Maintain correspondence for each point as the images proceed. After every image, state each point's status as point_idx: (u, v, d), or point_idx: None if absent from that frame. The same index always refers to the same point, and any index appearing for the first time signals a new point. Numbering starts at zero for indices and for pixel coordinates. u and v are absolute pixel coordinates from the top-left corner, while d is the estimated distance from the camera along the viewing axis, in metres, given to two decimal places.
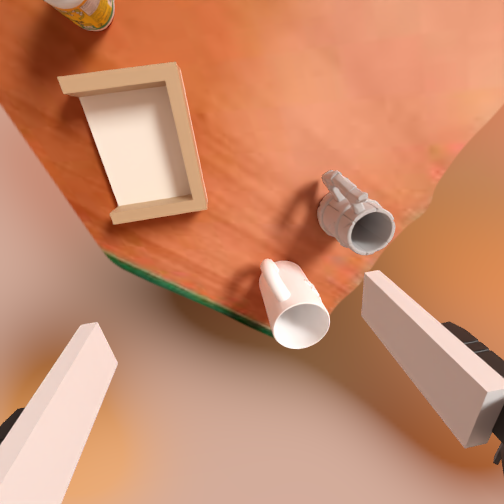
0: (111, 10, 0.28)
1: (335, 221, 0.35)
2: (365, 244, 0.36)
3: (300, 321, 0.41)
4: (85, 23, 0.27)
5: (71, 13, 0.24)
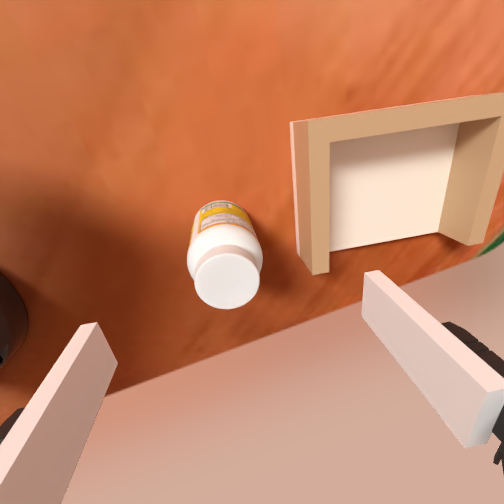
0: (233, 205, 0.22)
1: None
2: None
3: None
4: None
5: None
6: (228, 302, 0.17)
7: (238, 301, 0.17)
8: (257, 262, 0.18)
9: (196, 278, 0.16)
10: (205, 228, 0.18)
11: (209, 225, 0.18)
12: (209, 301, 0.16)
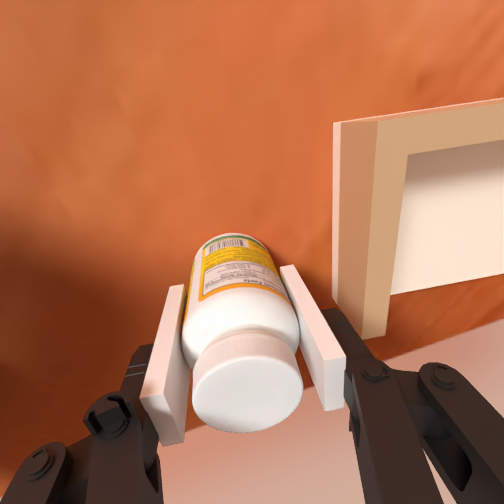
0: (250, 240, 0.16)
1: None
2: None
3: None
4: None
5: None
6: (249, 424, 0.10)
7: (265, 421, 0.10)
8: (293, 345, 0.11)
9: (195, 395, 0.09)
10: (211, 293, 0.11)
11: (218, 289, 0.11)
12: (217, 425, 0.10)
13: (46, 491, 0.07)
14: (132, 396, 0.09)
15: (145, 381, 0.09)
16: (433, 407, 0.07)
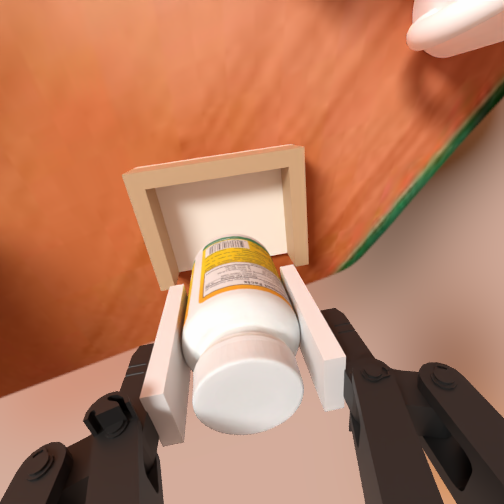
0: (250, 241, 0.16)
1: None
2: None
3: None
4: None
5: None
6: (249, 426, 0.10)
7: (266, 423, 0.10)
8: (293, 347, 0.11)
9: (195, 397, 0.09)
10: (211, 295, 0.11)
11: (218, 290, 0.11)
12: (217, 427, 0.10)
13: (46, 491, 0.07)
14: (132, 396, 0.09)
15: (145, 381, 0.09)
16: (433, 407, 0.07)
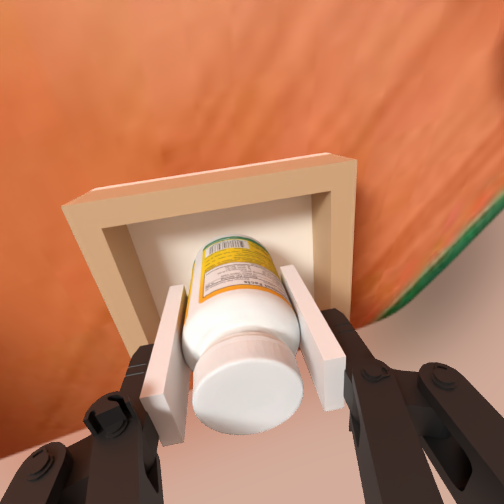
0: (250, 241, 0.16)
1: None
2: None
3: None
4: None
5: None
6: (250, 426, 0.10)
7: (266, 423, 0.10)
8: (293, 347, 0.11)
9: (195, 397, 0.09)
10: (211, 295, 0.11)
11: (218, 290, 0.11)
12: (217, 427, 0.10)
13: (46, 491, 0.07)
14: (132, 396, 0.09)
15: (145, 381, 0.09)
16: (433, 407, 0.07)
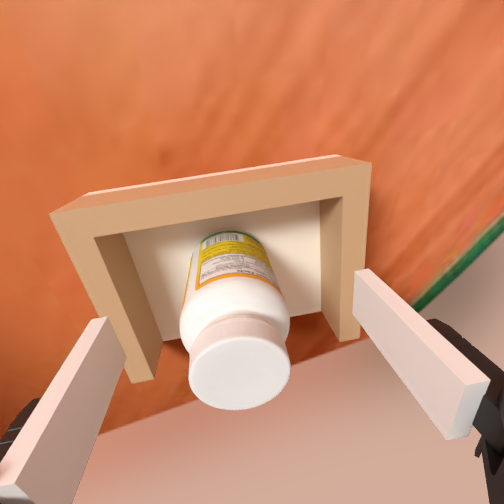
0: (245, 235, 0.17)
1: None
2: None
3: None
4: None
5: None
6: (242, 402, 0.11)
7: (256, 399, 0.11)
8: (283, 331, 0.12)
9: (191, 373, 0.10)
10: (207, 282, 0.12)
11: (213, 278, 0.12)
12: (212, 402, 0.11)
13: None
14: None
15: (2, 461, 0.07)
16: None
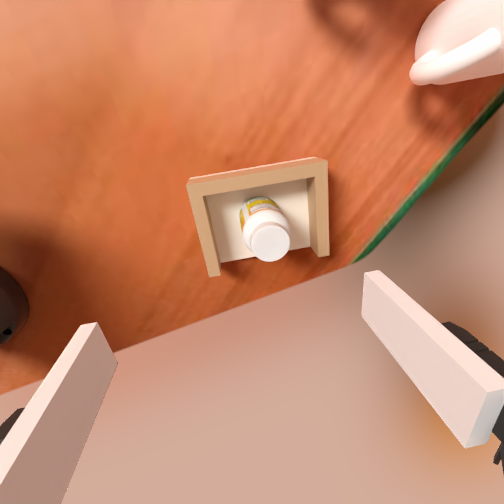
0: (268, 198, 0.33)
1: None
2: None
3: None
4: None
5: None
6: (270, 257, 0.27)
7: (276, 256, 0.27)
8: None
9: (252, 241, 0.26)
10: (254, 212, 0.28)
11: (257, 210, 0.28)
12: (259, 256, 0.27)
13: None
14: None
15: None
16: None
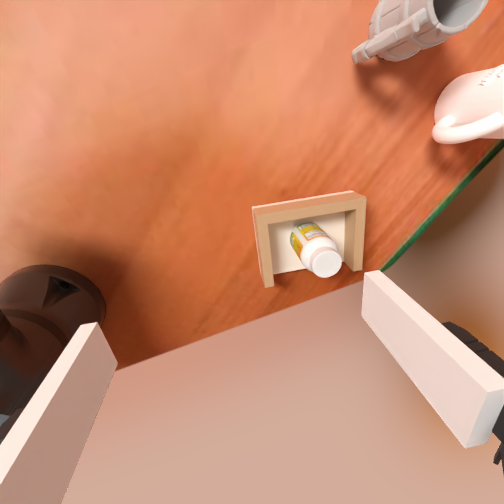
0: (315, 224, 0.41)
1: (421, 46, 0.28)
2: None
3: None
4: None
5: None
6: (326, 274, 0.35)
7: (330, 273, 0.35)
8: None
9: (313, 262, 0.34)
10: (312, 238, 0.36)
11: (313, 237, 0.36)
12: (317, 273, 0.35)
13: None
14: None
15: None
16: None
